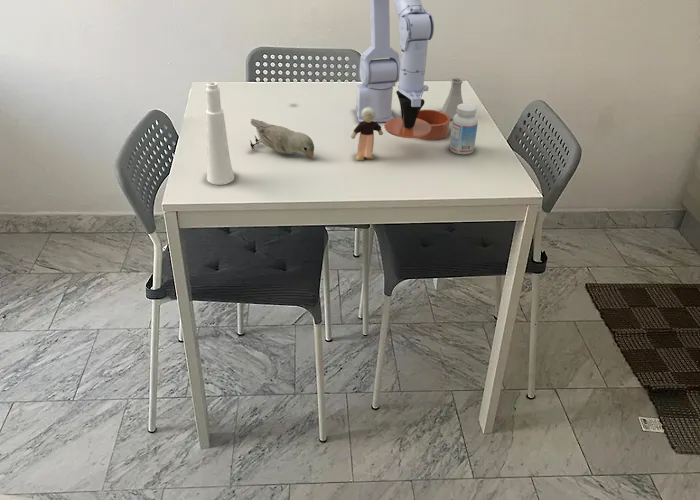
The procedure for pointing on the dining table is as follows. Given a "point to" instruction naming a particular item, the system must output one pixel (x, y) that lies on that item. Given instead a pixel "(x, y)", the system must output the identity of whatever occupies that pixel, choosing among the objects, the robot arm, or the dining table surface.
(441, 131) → the bowl
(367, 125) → the grandmother figurine
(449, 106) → the flask
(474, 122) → the pill bottle
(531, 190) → the dining table surface
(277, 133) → the decorative bird
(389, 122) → the lid
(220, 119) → the cosmetic bottle
